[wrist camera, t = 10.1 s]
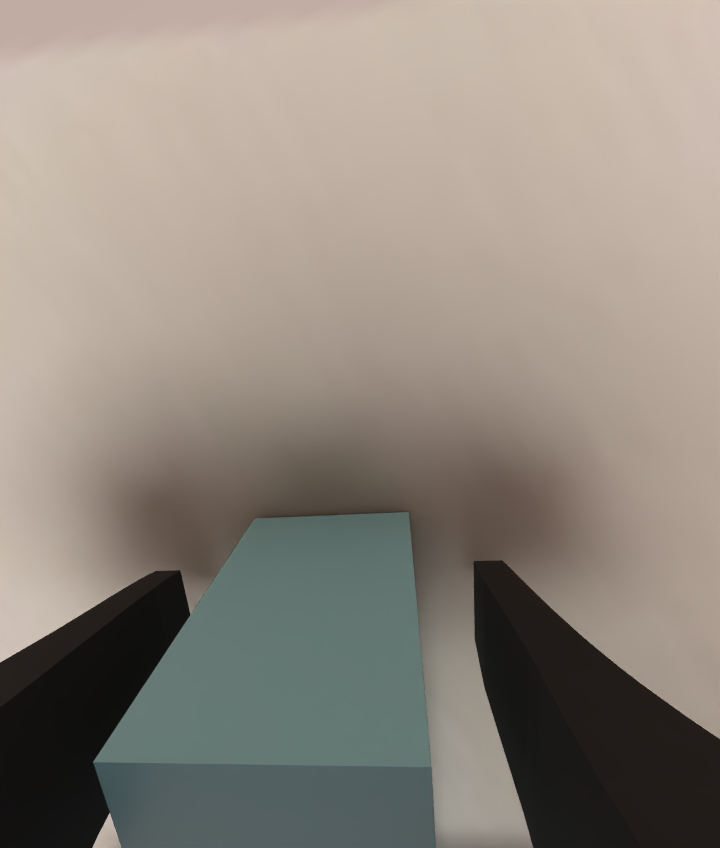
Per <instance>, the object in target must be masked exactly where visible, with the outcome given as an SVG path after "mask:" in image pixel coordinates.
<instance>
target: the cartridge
mask: <svg viewBox="0 0 720 848" xmlns="http://www.w3.org/2000/svg"><path fill="white" fill-rule="evenodd" d="M93 763H94V766H95V769H96V772H97V775H98V778H99V781H100V784H101V787H102V790H103V793H104V796H105V799H106V802H107V805H108V808H109V811H110V814H111V817H112V820H113V823H114V826H115V829H116V832H117V835H118V838H119V841H120V844H121V847H122V848H436V843H435V824H434V805H433V786H432V768H431V756H430V745H429V734H428V722H427V711H426V700H425V689H424V677H423V666H422V655H421V644H420V632H419V621H418V610H417V599H416V587H415V576H414V565H413V554H412V542H411V531H410V520H409V512H395V513H371V514H347V515H324V516H300V517H277V518H254V520H253V521H252V523H251V524H250V526H249V527H248V529H247V530H246V532H245V533H244V535H243V536H242V538H241V539H240V541H239V542H238V544H237V545H236V547H235V548H234V550H233V552H232V553H231V555H230V556H229V558H228V559H227V561H226V562H225V564H224V565H223V567H222V568H221V570H220V571H219V573H218V574H217V576H216V577H215V579H214V580H213V582H212V583H211V585H210V586H209V588H208V589H207V591H206V592H205V594H204V595H203V597H202V598H201V600H200V601H199V603H198V604H197V606H196V607H195V609H194V610H193V612H192V613H191V615H190V616H189V618H188V620H187V621H186V623H185V624H184V626H183V627H182V629H181V630H180V632H179V633H178V635H177V636H176V638H175V639H174V641H173V642H172V644H171V645H170V647H169V648H168V650H167V651H166V653H165V654H164V656H163V657H162V659H161V660H160V662H159V663H158V665H157V666H156V668H155V669H154V671H153V672H152V674H151V675H150V677H149V678H148V680H147V681H146V683H145V685H144V686H143V688H142V689H141V691H140V692H139V694H138V695H137V697H136V698H135V700H134V701H133V703H132V704H131V706H130V707H129V709H128V710H127V712H126V713H125V715H124V716H123V718H122V719H121V721H120V722H119V724H118V725H117V727H116V728H115V730H114V731H113V733H112V734H111V736H110V737H109V739H108V740H107V742H106V743H105V745H104V746H103V748H102V749H101V751H100V753H99V754H98V756H97V757H96V759H95V760H94V762H93Z"/></svg>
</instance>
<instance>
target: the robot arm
mask: <svg viewBox="0 0 720 848" xmlns="http://www.w3.org/2000/svg"><path fill="white" fill-rule="evenodd" d="M189 616H190V612H189V607H188V603H187V598H186V594H185V589H184V585H183V581H182V576H181V572H180V570H178V571H155V572H153V573H151V574H149V575H147V576H145V577H143V578H142V579H140V580H138V581H136V582H135V583H133V584H131V585H129V586H128V587H126V588H124V589H123V590H121V591H119V592H118V593H116V594H114V595H113V596H111V597H109V598H108V599H106V600H105V601H103V602H101V603H100V604H98V605H96V606H95V607H93V608H92V609H90V610H88V611H87V612H85V613H83V614H82V615H80V616H78V617H77V618H75V619H74V620H72V621H70V622H69V623H67V624H65V625H64V626H62V627H61V628H59V629H57V630H56V631H54V632H52V633H50V634H49V635H47V636H45V637H44V638H42V639H40V640H38V641H37V642H35V643H33V644H32V645H30V646H28V647H26V648H25V649H23V650H21V651H19V652H18V653H16V654H14V655H13V656H11V657H9V658H7V659H6V660H4V661H2V662H1V663H0V848H92V847H93V845H94V843H95V841H96V838H97V836H98V834H99V832H100V830H101V828H102V827H103V825H104V823H105V821H106V819H107V817H108V815H109V813H110V811H109V808H108V805H107V802H106V799H105V796H104V793H103V790H102V787H101V784H100V781H99V778H98V775H97V772H96V769H95V766H94V763H93V762H94V760H95V759H96V757H97V756H98V754H99V753H100V751H101V749H102V748H103V746H104V745H105V743H106V742H107V740H108V739H109V737H110V736H111V734H112V733H113V731H114V730H115V728H116V727H117V725H118V724H119V722H120V721H121V719H122V718H123V716H124V715H125V713H126V712H127V710H128V709H129V707H130V706H131V704H132V703H133V701H134V700H135V698H136V697H137V695H138V694H139V692H140V691H141V689H142V688H143V686H144V685H145V683H146V681H147V680H148V678H149V677H150V675H151V674H152V672H153V671H154V669H155V668H156V666H157V665H158V663H159V662H160V660H161V659H162V657H163V656H164V654H165V653H166V651H167V650H168V648H169V647H170V645H171V644H172V642H173V641H174V639H175V638H176V636H177V635H178V633H179V632H180V630H181V629H182V627H183V626H184V624H185V623H186V621H187V620H188V618H189ZM474 617H475V642H476V647H477V652H478V657H479V663H480V667H481V672H482V677H483V682H484V687H485V690H486V693H487V697H488V700H489V703H490V707H491V710H492V713H493V716H494V720H495V723H496V726H497V729H498V732H499V736H500V739H501V742H502V745H503V748H504V752H505V755H506V758H507V761H508V764H509V768H510V771H511V774H512V777H513V780H514V784H515V787H516V790H517V793H518V796H519V800H520V803H521V806H522V809H523V812H524V816H525V819H526V823H527V826H528V830H529V834H530V837H531V841H532V844H533V848H720V739H719V738H717V737H716V736H714V735H713V734H711V733H710V732H708V731H707V730H705V729H704V728H702V727H701V726H699V725H698V724H696V723H695V722H694V721H692V720H691V719H689V718H688V717H686V716H685V715H683V714H682V713H681V712H679V711H678V710H676V709H675V708H674V707H672V706H671V705H669V704H668V703H667V702H665V701H664V700H663V699H661V698H660V697H658V696H657V695H656V694H654V693H653V692H652V691H650V690H649V689H647V688H646V687H645V686H643V685H642V684H640V683H639V682H638V681H637V680H635V679H634V678H633V677H631V676H630V675H629V674H627V673H626V672H625V671H623V670H622V669H621V668H620V667H618V666H617V665H616V664H615V663H613V662H612V661H611V660H610V659H609V658H607V657H606V656H605V655H604V654H603V653H601V652H600V651H599V650H598V649H596V648H595V647H594V646H593V645H592V644H590V643H589V642H588V641H587V640H586V639H585V638H583V637H582V636H581V635H580V634H579V633H578V632H577V631H575V630H574V629H573V628H572V627H571V626H570V625H569V624H568V623H567V622H566V621H564V620H563V619H562V618H561V617H560V616H559V615H558V614H557V613H556V612H555V611H553V610H552V609H551V608H550V607H549V606H548V605H547V604H546V603H545V602H544V601H543V600H542V599H541V598H540V597H539V596H538V595H537V594H536V593H535V592H534V591H533V590H532V589H531V588H530V587H529V586H528V585H527V584H526V583H525V582H524V581H523V580H522V579H521V578H520V577H519V576H518V575H517V574H516V573H515V572H514V571H513V570H512V569H511V568H510V567H509V566H507V565H506V564H505V563H504V562H503V561H474Z"/></svg>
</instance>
